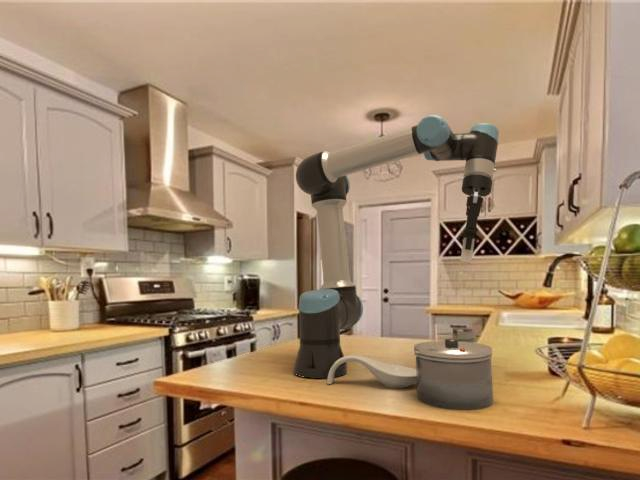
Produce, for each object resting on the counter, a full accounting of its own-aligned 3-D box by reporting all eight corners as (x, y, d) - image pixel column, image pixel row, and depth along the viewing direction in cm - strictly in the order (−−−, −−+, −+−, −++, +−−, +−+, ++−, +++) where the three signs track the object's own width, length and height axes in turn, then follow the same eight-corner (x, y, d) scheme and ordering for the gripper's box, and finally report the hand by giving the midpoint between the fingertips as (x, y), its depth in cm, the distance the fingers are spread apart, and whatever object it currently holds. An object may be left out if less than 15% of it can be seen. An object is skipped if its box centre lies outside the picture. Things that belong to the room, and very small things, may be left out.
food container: (480, 367, 120) (478, 332, 121) (458, 366, 122) (457, 332, 122) (473, 358, 132) (472, 327, 133) (453, 358, 134) (452, 327, 134)
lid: (437, 342, 103) (436, 332, 104) (504, 350, 92) (503, 338, 92) (399, 352, 92) (399, 340, 92) (470, 362, 80) (470, 348, 80)
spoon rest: (420, 380, 108) (418, 352, 109) (424, 392, 96) (423, 361, 97) (330, 378, 111) (330, 351, 112) (324, 390, 100) (324, 360, 100)
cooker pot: (442, 383, 103) (440, 342, 104) (509, 395, 92) (506, 350, 93) (401, 399, 91) (400, 353, 92) (473, 415, 79) (470, 363, 80)
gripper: (495, 169, 104) (483, 259, 99) (490, 189, 116) (479, 270, 111) (464, 167, 106) (451, 254, 101) (462, 186, 118) (450, 265, 113)
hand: (465, 262), depth 106 cm, fingers closed
